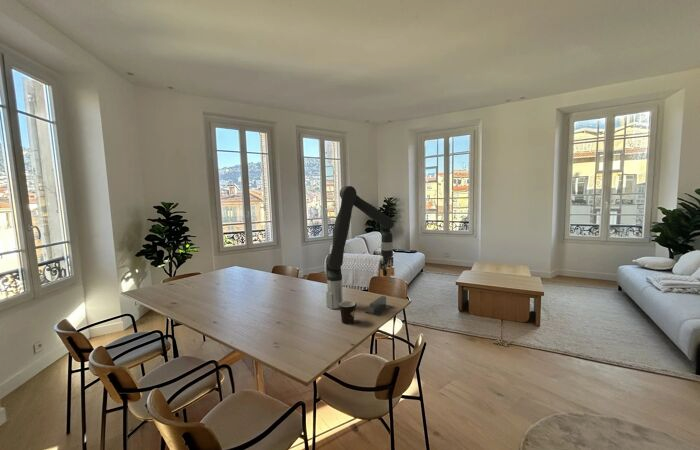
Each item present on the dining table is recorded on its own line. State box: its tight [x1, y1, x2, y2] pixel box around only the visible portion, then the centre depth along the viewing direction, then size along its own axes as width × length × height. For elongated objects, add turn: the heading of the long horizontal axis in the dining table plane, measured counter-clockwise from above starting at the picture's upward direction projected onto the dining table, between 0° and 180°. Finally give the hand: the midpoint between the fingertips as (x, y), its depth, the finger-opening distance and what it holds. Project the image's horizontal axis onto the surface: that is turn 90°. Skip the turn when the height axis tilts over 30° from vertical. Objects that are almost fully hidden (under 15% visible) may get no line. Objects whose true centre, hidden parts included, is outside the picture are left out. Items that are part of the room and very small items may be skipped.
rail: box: [364, 295, 392, 316], centre depth 182 cm, size 16×9×6 cm, turn 148°
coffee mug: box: [339, 300, 357, 325], centre depth 166 cm, size 12×9×10 cm
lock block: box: [379, 267, 395, 279], centre depth 196 cm, size 7×6×5 cm
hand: (387, 274), depth 196 cm, fingers closed on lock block, 6 cm apart
